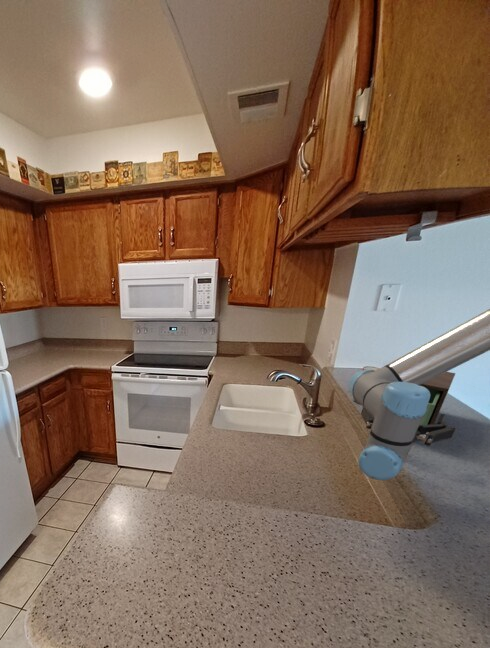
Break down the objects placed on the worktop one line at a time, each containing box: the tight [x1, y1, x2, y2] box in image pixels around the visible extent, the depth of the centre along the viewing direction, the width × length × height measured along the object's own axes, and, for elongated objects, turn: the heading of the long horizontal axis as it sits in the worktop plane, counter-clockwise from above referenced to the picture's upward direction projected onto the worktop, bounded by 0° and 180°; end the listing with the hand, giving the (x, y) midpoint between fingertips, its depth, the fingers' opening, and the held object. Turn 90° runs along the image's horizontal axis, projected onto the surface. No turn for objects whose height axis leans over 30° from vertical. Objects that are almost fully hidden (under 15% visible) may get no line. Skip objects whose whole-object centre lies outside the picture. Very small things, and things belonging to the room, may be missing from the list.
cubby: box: [419, 371, 456, 425], centre depth 110 cm, size 20×12×14 cm, turn 138°
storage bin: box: [420, 388, 441, 425], centre depth 103 cm, size 18×9×11 cm, turn 138°
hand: (410, 411), depth 90 cm, fingers open, 13 cm apart
